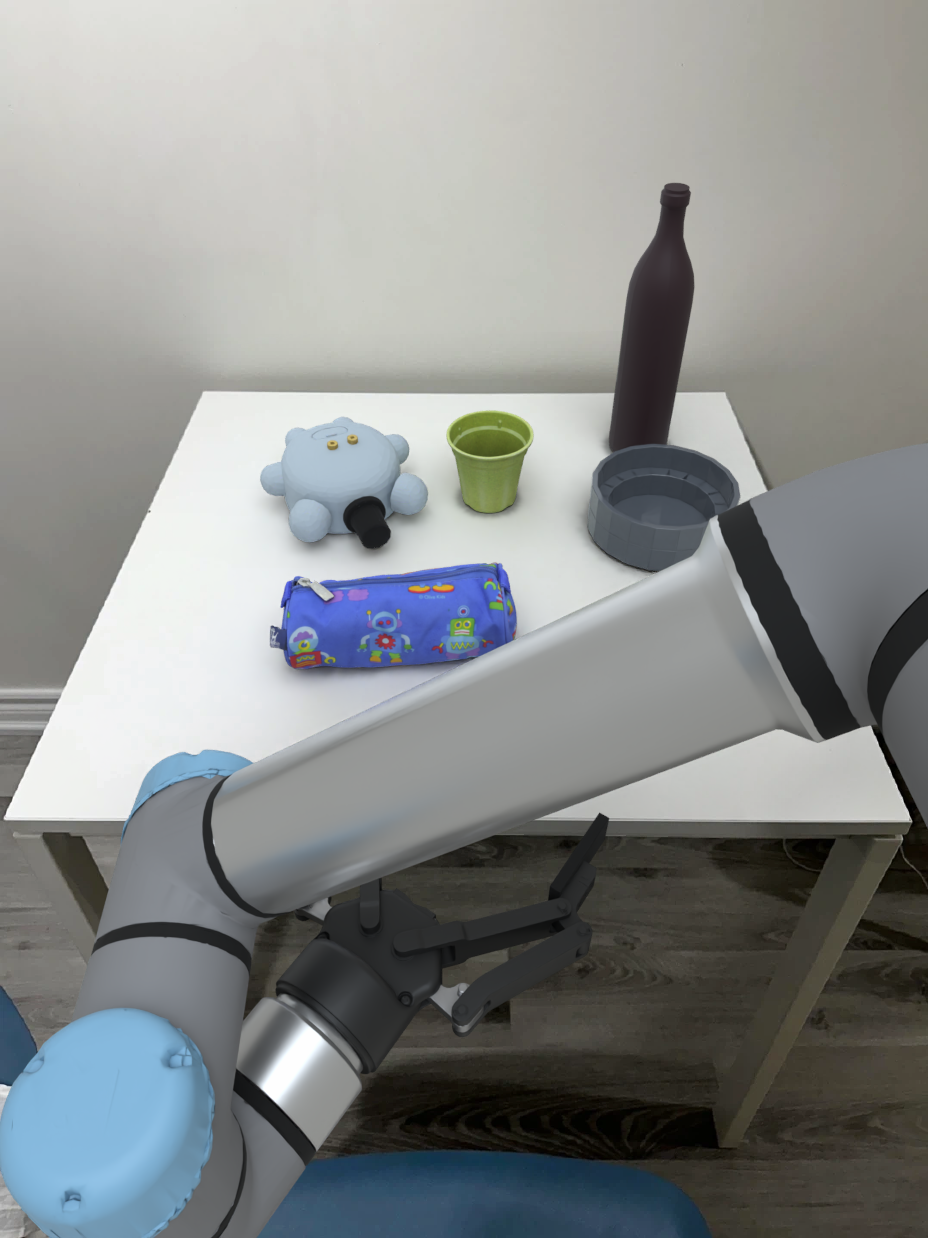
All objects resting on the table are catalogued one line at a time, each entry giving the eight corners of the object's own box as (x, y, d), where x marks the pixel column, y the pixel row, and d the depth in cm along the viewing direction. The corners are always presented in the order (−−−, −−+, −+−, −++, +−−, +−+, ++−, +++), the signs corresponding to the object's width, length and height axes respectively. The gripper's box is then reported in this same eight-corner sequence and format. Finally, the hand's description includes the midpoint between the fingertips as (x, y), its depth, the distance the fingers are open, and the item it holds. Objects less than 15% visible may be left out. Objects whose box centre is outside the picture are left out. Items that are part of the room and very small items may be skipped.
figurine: (250, 475, 101) (301, 592, 89) (238, 416, 94) (291, 534, 83) (387, 441, 105) (452, 547, 94) (385, 382, 99) (454, 489, 87)
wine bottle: (660, 430, 107) (704, 174, 86) (670, 462, 102) (720, 198, 81) (604, 431, 107) (635, 175, 86) (612, 463, 102) (647, 200, 81)
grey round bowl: (750, 565, 89) (764, 519, 85) (610, 583, 87) (617, 537, 83) (697, 481, 100) (707, 437, 95) (571, 496, 98) (575, 451, 94)
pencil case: (279, 692, 77) (261, 617, 70) (286, 625, 83) (269, 550, 76) (521, 676, 78) (525, 600, 71) (509, 611, 84) (512, 536, 78)
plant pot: (531, 523, 94) (535, 457, 88) (446, 523, 94) (445, 457, 88) (528, 474, 101) (531, 410, 95) (449, 474, 101) (447, 410, 95)
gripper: (183, 942, 56) (384, 732, 68) (500, 1199, 46) (669, 896, 58) (153, 887, 51) (377, 669, 63) (504, 1162, 41) (689, 838, 53)
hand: (518, 778), depth 61 cm, fingers open, 13 cm apart
